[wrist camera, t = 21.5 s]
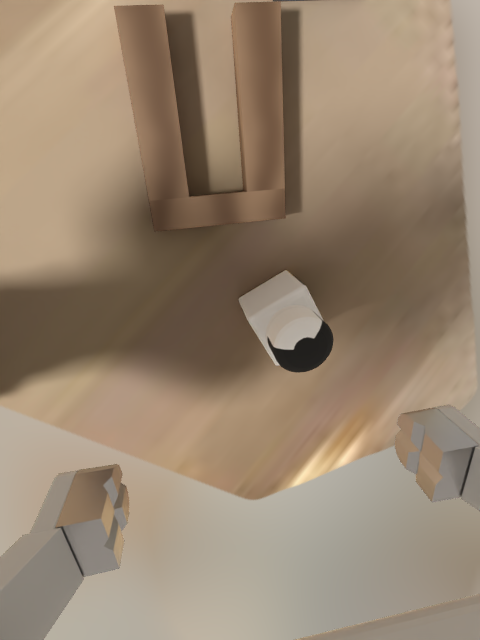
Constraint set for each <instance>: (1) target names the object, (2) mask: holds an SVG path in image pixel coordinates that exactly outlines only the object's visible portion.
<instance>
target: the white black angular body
mask: <svg viewBox="0 0 480 640" xmlns="http://www.w3.org/2000/svg"><path fill="white" fill-rule="evenodd" d="M239 303H240V305H241V307H242V309H243V311H244V314H245V316H246V318H247V320H248V322H249V324H250V325H251V327H252V328H253V330H254V332H255V333H256V335H257V336H258V338H259V340H260V341H261V343H262V344H263V346H264V348H265V349H266V351H267V352H268V354H269V356H270V357H271V359H272V360H273V362H274V364H275V365H277V366H279V365H280V366H281V367H283V368H284V369H286V370H288V371H291V372H306V371H309V370H312V369H314V368H316V367H318V366H319V365H321V364H322V363H323V362H324V361H325V360H326V358H327V357H328V356H329V354H330V352H331V350H332V346H333V334H332V331H331V329H330V328H329V326H328V325H327V324H326V323H325V322H324V320H323V318H322V316H321V314H320V312H319V310H318V309H317V307H316V305H315V303H314V301H313V299H312V297H311V295H310V293H309V291H308V289H307V287H306V286H305V285H304V284H303V283H302V282H301V281H300V280H298V279H297V278H296V277H295V276H294V275H293V274H291V273H290V272H289V271H288V270H284V271H283V272H281V273H279V274H278V275H276V276H274V277H273V278H271V279H270V280H268V281H266V282H265V283H263V284H261V285H260V286H258V287H256V288H255V289H253V290H251V291H250V292H248V293H246V294H245V295H243V296H241V297H240V298H239Z"/></svg>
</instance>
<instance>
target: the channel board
mask: <svg viewBox="0 0 480 640" xmlns="http://www.w3.org/2000/svg"><path fill="white" fill-rule="evenodd" d="M114 9H115V15H116V20H117V26H118V32H119V37H120V43H121V48H122V54H123V59H124V65H125V70H126V76H127V82H128V87H129V93H130V98H131V104H132V109H133V115H134V120H135V126H136V131H137V137H138V143H139V148H140V154H141V159H142V165H143V170H144V176H145V181H146V187H147V193H148V198H149V204H150V209H151V215H152V220H153V226H154V231H155V232H156V231H165V230H175V229H185V228H195V227H204V226H214V225H224V224H234V223H243V222H253V221H263V220H273V219H282V218H286V216H285V173H284V129H283V86H282V42H281V2H248V3H235V4H234V8H233V11H232V15H231V23H232V37H233V51H234V66H235V80H236V94H237V108H238V122H239V137H240V151H241V165H242V179H243V191H241V192H230V193H219V194H209V195H198V196H189V192H188V185H187V177H186V170H185V162H184V155H183V147H182V140H181V132H180V125H179V117H178V110H177V102H176V95H175V87H174V80H173V72H172V65H171V57H170V50H169V42H168V35H167V27H166V20H165V12H164V5H133V6H114Z"/></svg>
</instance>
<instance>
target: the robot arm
mask: <svg viewBox="0 0 480 640" xmlns="http://www.w3.org/2000/svg"><path fill="white" fill-rule="evenodd" d="M397 425H398V426H399V428H400V429H401V430H400V431H399V432H398V434H397V435H396V436H395V449H396V453H397V456H398V458H399V460H400V462H401V463H402V464H403V466H404V467H405V468H406V469H407V470H409V471H411V472H413V473H414V474H416V482H417V484H418V485H419V486H420V488H421V489H422V490H423V492H424V493H425V494H426V495H427V497H428V498H429V499H430V501H431V502H436V501H441V500H448V499H453V498H459V497H461V499H462V500H464V501H465V502H467V503H468V504H470V505H471V506H473V507H475V508H476V509H478V510H479V511H480V428H479V427H478V426H477V425H476V424H475V423H473V422H472V421H471V420H470V419H468V418H467V417H466V416H465V415H464V414H462V413H461V412H460V411H459V410H458V409H456V408H455V407H453V406H451V405H444V406H439V407H433V408H429V409H423V410H418V411H413V412H407V413H402V414H400V416H399V417H398V422H397ZM121 478H122V471H121V469H120V466H119V465H117V464H114V465H108V466H102V467H95V468H88V469H81V470H78V471H72V472H64V473H59V474H58V475H57V476H56V477H55V478H54V480H53V482H52V485H51V487H50V489H49V491H48V494H47V496H46V498H45V500H44V502H43V505H42V507H41V509H40V512H39V514H38V516H37V518H36V520H35V523H34V525H33V527H32V530H31V532H30V534H25V535H23V536H22V537H20V538H19V539H18V540H17V541H16V542H15V543H14V544H13V545H12V546H11V547H10V548H9V549H8V550H7V551H6V552H5V553H4V554H3V555H2V556H1V557H0V640H44V638H45V637H46V635H47V634H48V632H49V631H50V629H51V628H52V626H53V625H54V623H55V622H56V620H57V619H58V617H59V616H60V614H61V613H62V611H63V610H64V608H65V607H66V605H67V604H68V602H69V601H70V599H71V598H72V596H73V595H74V593H75V592H76V590H77V589H78V587H79V586H80V584H81V583H82V581H83V580H84V578H83V577H86V576H90V575H94V574H98V573H102V572H107V571H111V570H115V569H119V568H120V563H121V557H122V551H123V546H124V538H123V535H122V532H121V531H122V530H123V529H124V527H125V526H126V525H127V523H128V516H129V497H128V491H127V488H126V486H125V485H123V484H122V483H121ZM295 640H480V594H476V595H472V596H468V597H464V598H460V599H456V600H452V601H448V602H444V603H440V604H436V605H432V606H428V607H424V608H420V609H416V610H412V611H408V612H404V613H400V614H396V615H392V616H388V617H384V618H380V619H376V620H372V621H368V622H364V623H360V624H356V625H352V626H348V627H344V628H340V629H336V630H332V631H328V632H324V633H320V634H316V635H312V636H308V637H304V638H300V639H295Z"/></svg>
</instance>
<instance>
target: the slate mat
mask: <svg viewBox="0 0 480 640" xmlns="http://www.w3.org/2000/svg"><path fill="white" fill-rule="evenodd" d="M273 1H303V0H273Z"/></svg>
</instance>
